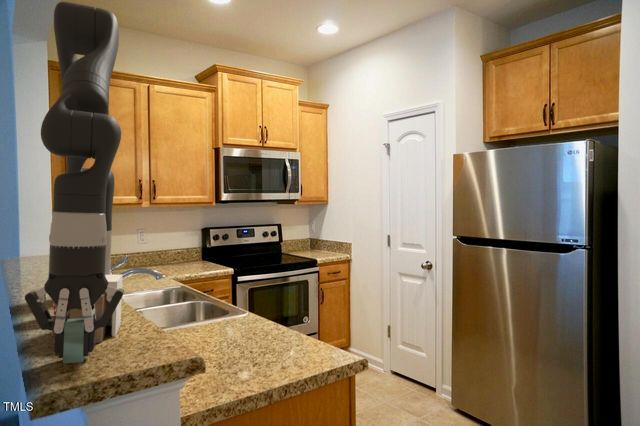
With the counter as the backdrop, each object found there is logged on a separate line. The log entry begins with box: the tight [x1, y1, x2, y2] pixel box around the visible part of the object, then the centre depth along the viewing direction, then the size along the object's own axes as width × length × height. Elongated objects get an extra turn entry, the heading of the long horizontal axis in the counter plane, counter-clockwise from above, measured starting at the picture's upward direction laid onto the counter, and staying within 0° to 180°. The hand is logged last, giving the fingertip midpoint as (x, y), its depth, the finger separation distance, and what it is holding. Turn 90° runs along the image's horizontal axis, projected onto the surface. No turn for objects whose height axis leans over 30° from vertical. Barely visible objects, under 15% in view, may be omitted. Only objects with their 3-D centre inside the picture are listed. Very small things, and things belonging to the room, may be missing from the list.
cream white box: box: [68, 274, 123, 338], centre depth 81 cm, size 9×9×10 cm
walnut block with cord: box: [62, 292, 107, 364], centre depth 72 cm, size 15×5×8 cm, turn 19°
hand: (74, 355), depth 66 cm, fingers closed on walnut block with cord, 2 cm apart
